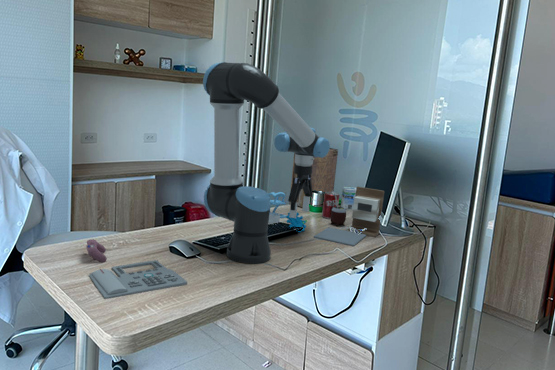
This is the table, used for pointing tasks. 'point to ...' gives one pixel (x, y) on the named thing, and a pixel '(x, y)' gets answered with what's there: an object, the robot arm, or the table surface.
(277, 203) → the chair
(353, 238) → the mat
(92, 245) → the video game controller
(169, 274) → the office telephone
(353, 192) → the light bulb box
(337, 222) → the mate gourd
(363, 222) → the mounted unit
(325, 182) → the book
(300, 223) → the gear
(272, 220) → the steel block
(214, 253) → the table surface
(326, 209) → the soda can
